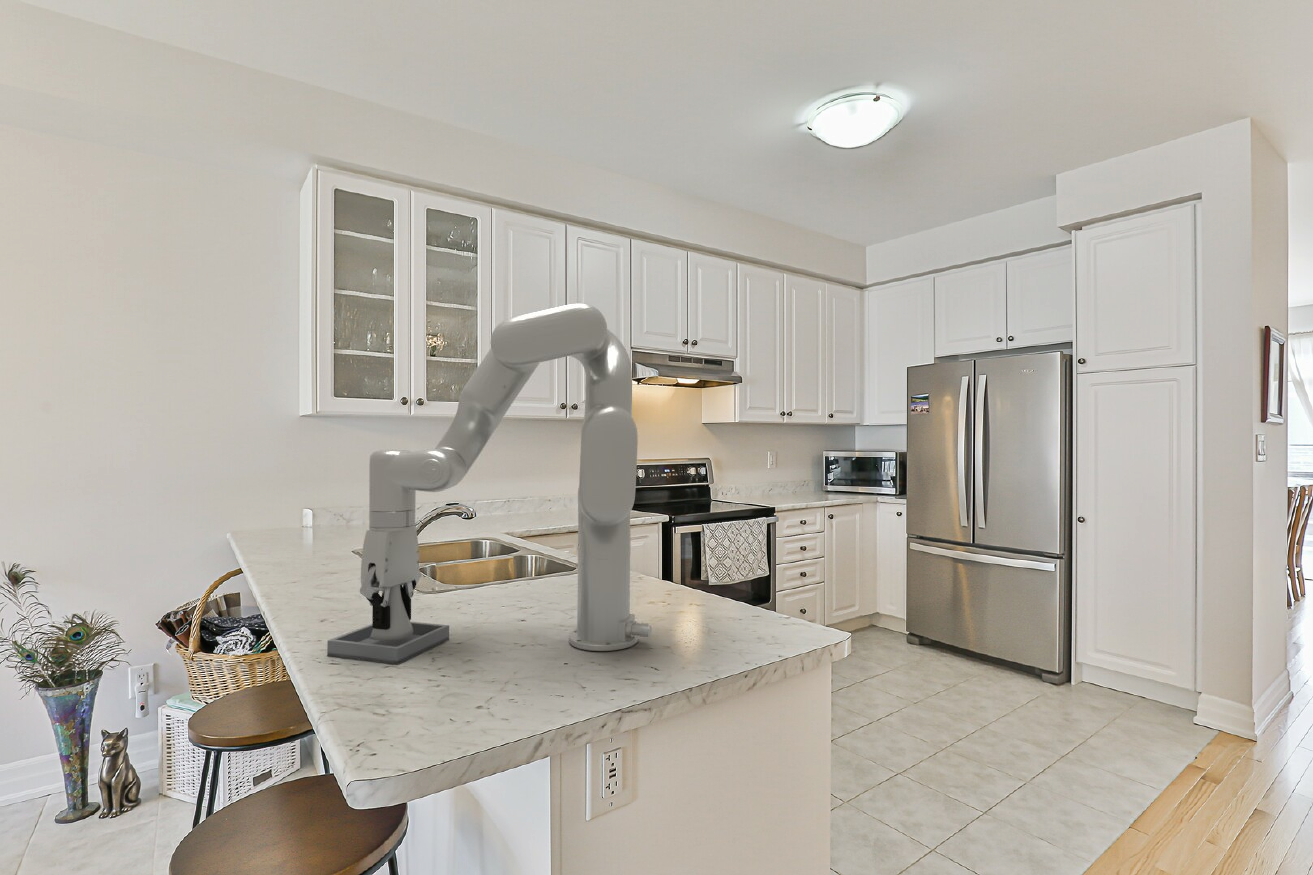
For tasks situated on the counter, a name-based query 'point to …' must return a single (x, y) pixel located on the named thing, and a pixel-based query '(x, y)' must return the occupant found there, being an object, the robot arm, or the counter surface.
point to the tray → (387, 644)
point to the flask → (395, 619)
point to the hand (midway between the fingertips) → (392, 623)
